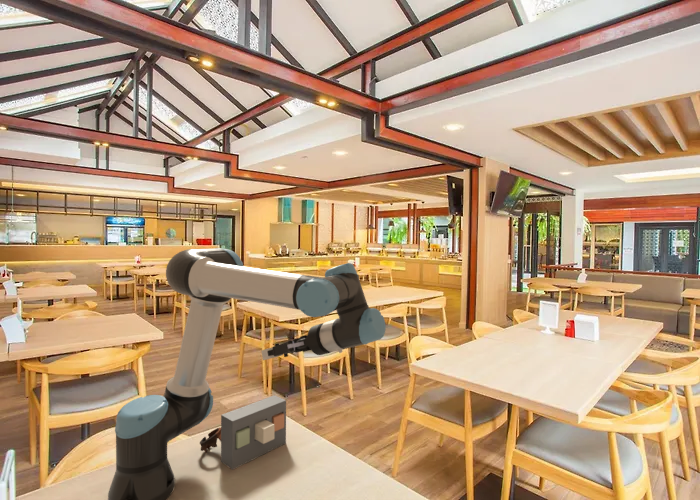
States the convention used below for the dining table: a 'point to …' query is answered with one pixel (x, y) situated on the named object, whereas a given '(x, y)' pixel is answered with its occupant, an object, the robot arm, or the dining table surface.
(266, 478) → the dining table surface
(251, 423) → the console
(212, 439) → the pottery mug
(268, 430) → the ivory button
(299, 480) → the dining table surface
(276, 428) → the terracotta button
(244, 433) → the sage button
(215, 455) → the dining table surface
